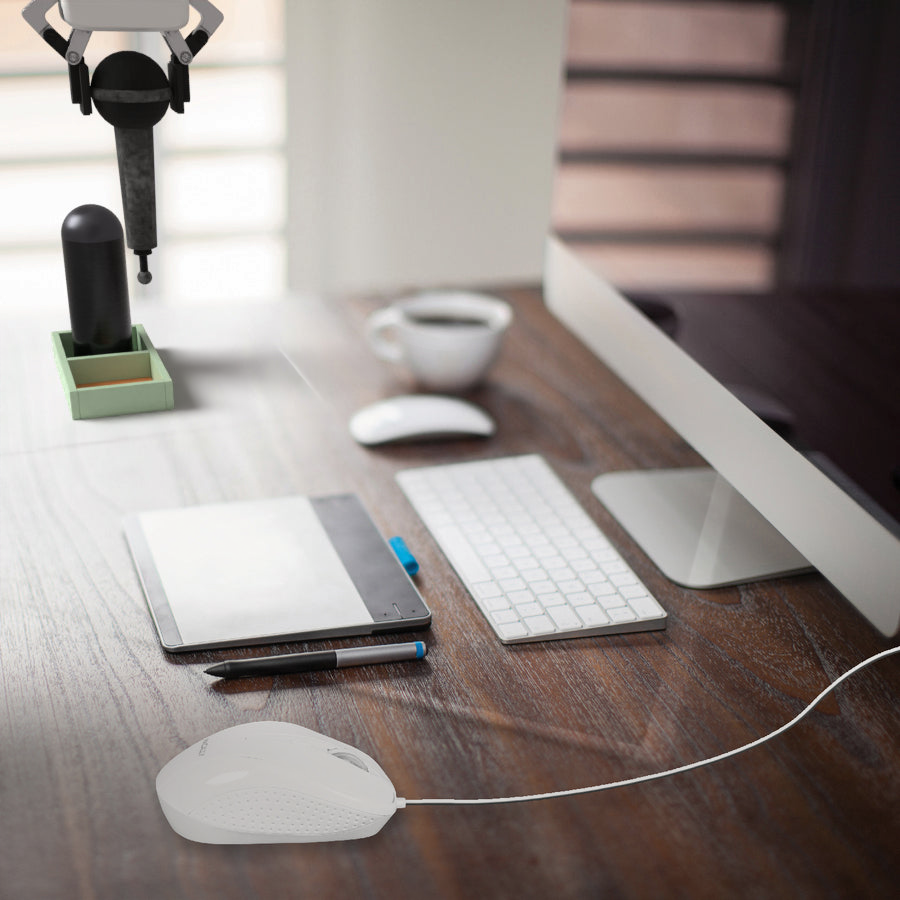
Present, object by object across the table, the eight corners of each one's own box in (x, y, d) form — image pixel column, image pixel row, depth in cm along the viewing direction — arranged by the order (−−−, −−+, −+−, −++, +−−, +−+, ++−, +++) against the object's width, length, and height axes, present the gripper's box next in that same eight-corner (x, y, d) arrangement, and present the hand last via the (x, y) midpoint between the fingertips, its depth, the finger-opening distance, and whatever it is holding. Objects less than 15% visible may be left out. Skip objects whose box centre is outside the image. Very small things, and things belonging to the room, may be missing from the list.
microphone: (89, 289, 101) (67, 50, 93) (133, 270, 107) (116, 45, 99) (157, 299, 99) (140, 56, 91) (198, 279, 105) (186, 50, 97)
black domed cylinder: (78, 379, 124) (61, 213, 116) (72, 360, 129) (55, 199, 122) (138, 373, 126) (125, 209, 119) (130, 354, 132) (116, 196, 124)
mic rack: (73, 424, 114) (69, 391, 113) (54, 360, 130) (50, 331, 129) (174, 412, 118) (172, 381, 116) (144, 351, 134) (141, 323, 133)
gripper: (215, -115, 96) (224, 104, 103) (-6, -127, 89) (21, 107, 97) (235, -117, 89) (243, 117, 97) (-1, -130, 83) (27, 121, 90)
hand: (132, 110), depth 97 cm, fingers closed on microphone, 7 cm apart
